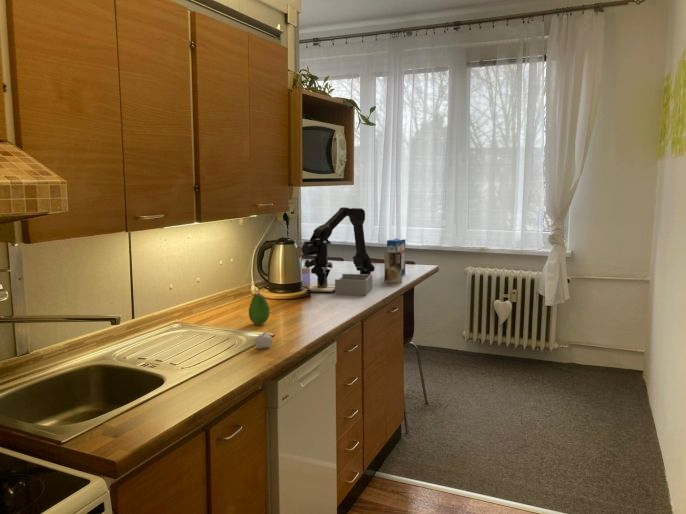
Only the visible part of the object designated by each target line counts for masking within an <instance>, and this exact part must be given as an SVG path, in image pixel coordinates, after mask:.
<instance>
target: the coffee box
mask: <svg viewBox="0 0 686 514" xmlns="http://www.w3.org/2000/svg"><path fill="white" fill-rule="evenodd" d="M383 257H384V261H383V262H384V267H383V268H384V283H402V282H403V281H402V277H403V275H402V270H401V251H387V250H384V253H383Z"/></svg>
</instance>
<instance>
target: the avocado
mask: <svg viewBox="0 0 686 514" xmlns="http://www.w3.org/2000/svg"><path fill="white" fill-rule="evenodd" d="M248 316H249V319H250V321H251V322H252V323H253V324H254V325H257V326H260V325H263V324H264V323H266V321H268V319H269V317H270V306H269V304H268V302H267V299H266V298H265V296H263V295H262V294H260V293H256V294H254V295H253V296H252V298H251V302H250V304H249V307H248Z"/></svg>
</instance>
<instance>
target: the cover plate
mask: <svg viewBox="0 0 686 514" xmlns="http://www.w3.org/2000/svg"><path fill="white" fill-rule="evenodd" d="M308 287H310V290H311V291H310V292H323V293H324V292H325V293H326V292H329V293H333V292H335V283H334V284H333V283H331V284H330V283H328V277H325V279H324V283H323V285H322V286H320V283H319V280H318V277H317V281H316V283H312V284H310V285H309V286H308Z"/></svg>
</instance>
